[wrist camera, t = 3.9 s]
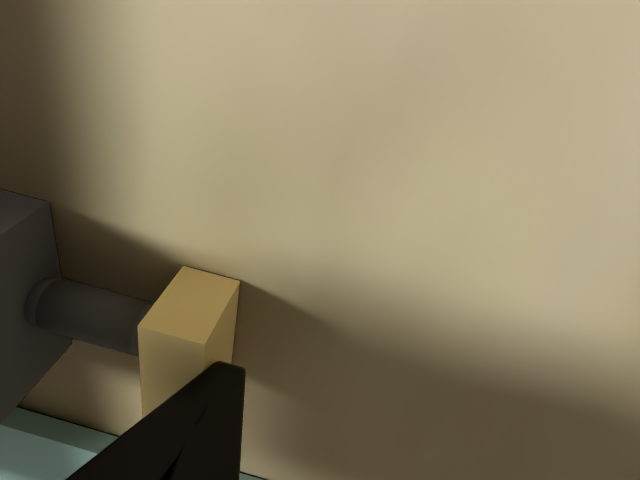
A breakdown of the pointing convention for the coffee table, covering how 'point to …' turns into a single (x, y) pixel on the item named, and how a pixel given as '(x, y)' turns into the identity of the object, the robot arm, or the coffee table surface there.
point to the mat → (48, 447)
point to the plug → (100, 314)
